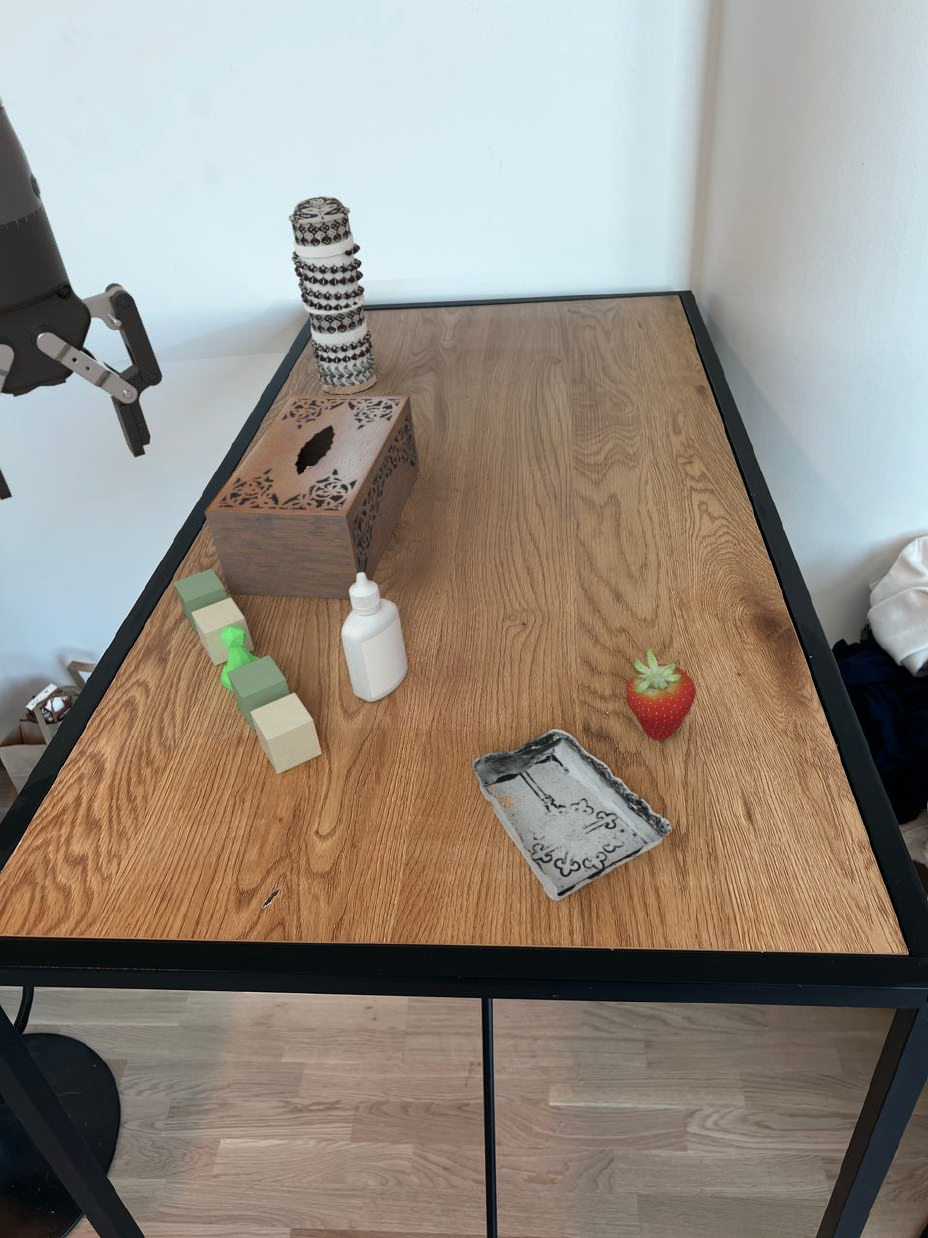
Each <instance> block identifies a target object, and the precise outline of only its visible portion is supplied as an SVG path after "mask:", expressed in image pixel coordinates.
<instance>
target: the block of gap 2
mask: <svg viewBox="0 0 928 1238" xmlns="http://www.w3.org/2000/svg"><path fill="white" fill-rule="evenodd" d="M227 675H228V678H229V681H230V684H231V687H232V690H233V692H232V693H233V696H234V699H235V702H236V704H237V707H238V709H239V711H240V712H241V714H242V716H243V717H244V719H245V721H246V722H247V724H248V726H249V727H250V729H251V731H252V732H254V731H256V729H255V726H254V723H253V719H252V716H251V713H250V712H251V711H253V710H255V709H257V708H260V707H262V706H264V705H267V704H269V703H271V702H274V701H276V700H278V699H281V698H283V697H285V696H288V695H290V694H291V692H290V689H289V685H288V681H287V678H286V677H285V675H284V674H283V672H282V671H281V669H280V668H279V666H278V665H277V664H276V662H275V660H274V659H273V658H272V655H270V654H268V655H265V656H263V657H259V659H258V660H255V661H253V662H251V663H248V664H246V665H243V666H241V667H238V668H236V669H234V670H231V671H229V672H227Z"/></svg>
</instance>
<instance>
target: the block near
mask: <svg viewBox="0 0 928 1238" xmlns="http://www.w3.org/2000/svg"><path fill="white" fill-rule="evenodd" d="M250 713H251V716H252V719H253V723H254V726H255V729H256V730H255V732H256V736H257V738H258V742H259V744H260V747H261V748H262V750H263V752H264V754H265V756H266V757H267V759H268V760H269V762H270V764H271V765H272V767H273V769H274V771H275V773H276V774H277V775H279V774H282V773H283V772H286V771H288V770H290V769H293V768H294V767H296V766H299V765H301V764H303V763H305V762H307V761H309V760H313V759H314V758H315V757H318V756H320V755H322V754H323V752H322V748H321V744H320V741H319V737H318V733H317V729H316V724H315V722H314V719H313V718H312V716H311V714H310V713H309V711H308V710H307V708H306V706H304V704H303V702H302V700H300V698H299V697H298V695H297V694H296V692H292V693H290V695H288V696H285V697H283V698H281V699H278V700H276V701H274V702H271V703H269V704H267V705H264V706H262V707H260V708H257V709H255V710H253V711H251V712H250Z"/></svg>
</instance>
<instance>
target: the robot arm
mask: <svg viewBox="0 0 928 1238" xmlns="http://www.w3.org/2000/svg"><path fill="white" fill-rule="evenodd" d="M3 103H4V102H3V99H2V97H1V95H0V395H1V394H3V395H4V394H5V395H12V396H13V397H14V398H16V397H20V396H24V395H27V394H29V393H30V392H33V391H34V390H35V389H38V388H40V387H55V386H56V387H57V386H59V385H62V384H67V379H68V378H70V377H71V376H72V375H73V374H74V373H75V374H77V375H79V376H80V377H82V378H83V379H84V380H86V381H87V382H89V383H91V384H92V385H93V386H95V387H97V388H100V389H102V390H103V391H104V392H106V393H108V394H109V395H110V399H111V402H112V405H113V407H114V410H115V413H116V416H117V420H118V422H119V425H120V428H121V431H122V433H123V437H124V440H125V442H126V445H127V447H128V449H129V451H130V453H131V454H132V455H133V457H134V458H137V457H141V456H145V455H146V451H145V447H144V446H147V445H150V444H151V434H150V430H149V427H148V425H147V422H146V418H145V415H144V411H143V409H142V406H141V403H140V397H141V394H142V393H143V392H144V391H145V390H146V389H148V388H150V387H155V386H158V385H159V384H160V383H161V382H162V380H163V374H162V370H161V368H160V365H159V363H158V360H157V357H156V355H155V352H154V349H153V346H152V343H151V341H150V338H149V335H148V333H147V330H146V328H145V325H144V322H143V319H142V317H141V314H140V313H139V309H138V307H137V303H136V301H135V299H134V297H133V296H132V295H131V294H130V293H129V292H128V290H126V289H125V288H124V287H123V286H122V285H121V284H120V283H117V282H112V283H109V284H108V285H107V286H106V287H105V290H104V292H102V293H101V292H100V293H98V294H95V295H93V296H89V297H86V298H83V299H81V297H80V296H78V295H77V294H76V292H75V290H74V288H73V286H72V283H71V280H70V278H69V276H68V275H69V274H68V273H67V269H66V267H65V266H66V265H65V263H64V260H63V257H62V255H61V251H60V249H59V246H58V244H57V240H56V237H55V234H54V231H53V229H52V226H51V223H50V221H49V217H48V214H47V211H46V208H45V206H44V203H43V200H42V196H41V188H40V185H39V182H38V179H37V177H35V175H34V173H33V171H32V168H31V164H30V162H29V160H28V158H27V154H26V152H25V149H24V147H23V145H22V142H21V141H20V139H19V136H18V135H17V133H16V130H15V128H14V127H13V124H12V122H11V120H10V118H9V116H8V113H7V109H6V108H5V106H4V105H3ZM93 318H95V319H100V320H102V322H103V323H104V324H105V326H106V327H107V328H108V329H110V330H112V331H119V334H120V336H121V340H122V341H123V344H124V347H125V349H126V352H127V354H128V357H129V359H130V360H129V361H130V362H131V365H129V366H128V367H127V368H125V369H124V370H123V371H120V370H118V369H116V368H115V367H114V366H112V365H111V364H109V363H108V362H106V361H105V360H103V359H102V358H101V357H100V356H99V355H98V354H96V353H95V352H94V351H92V350H91V349H89V348H87V347H86V346H85V342H86V339H87V337H88V333H89V331H90V327H91V324H92V319H93ZM9 498H13V494H12V492H11V489H10V487H9V485H8V482H7V480H6V478H5V475H4V473H3V471H2V469H1V468H0V500H1V501H3V500H6V499H9Z"/></svg>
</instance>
